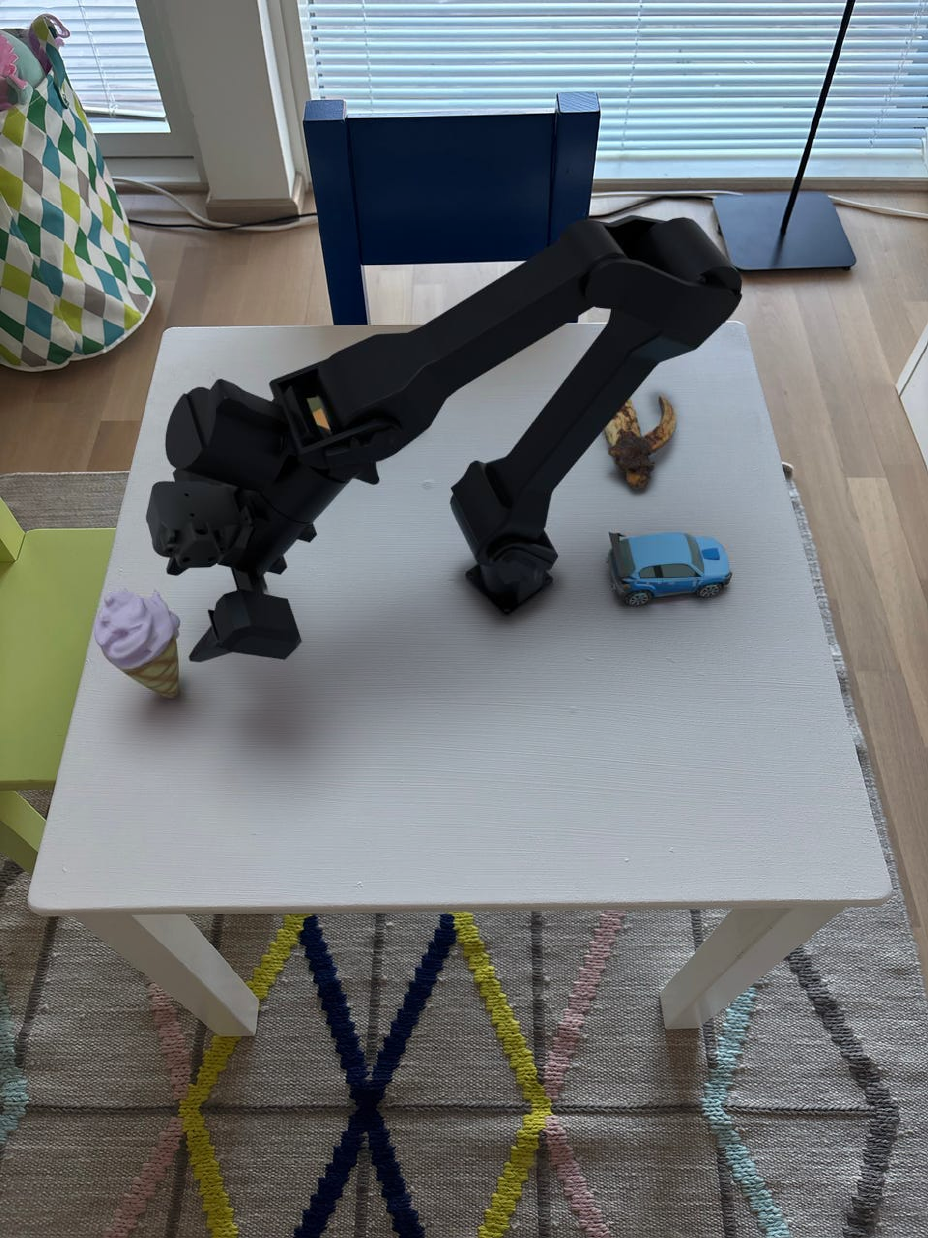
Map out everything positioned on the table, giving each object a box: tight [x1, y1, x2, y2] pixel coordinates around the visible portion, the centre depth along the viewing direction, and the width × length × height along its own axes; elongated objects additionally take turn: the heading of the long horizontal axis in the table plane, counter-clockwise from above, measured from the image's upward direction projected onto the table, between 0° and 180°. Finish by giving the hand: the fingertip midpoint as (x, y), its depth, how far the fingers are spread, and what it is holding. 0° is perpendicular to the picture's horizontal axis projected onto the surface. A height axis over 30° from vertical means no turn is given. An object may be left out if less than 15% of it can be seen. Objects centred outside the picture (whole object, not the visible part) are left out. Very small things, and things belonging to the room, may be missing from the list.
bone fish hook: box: [604, 395, 677, 489], centre depth 100 cm, size 9×5×18 cm
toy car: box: [605, 531, 733, 606], centre depth 89 cm, size 6×12×6 cm, turn 96°
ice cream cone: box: [93, 588, 181, 699], centre depth 79 cm, size 7×6×15 cm
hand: (182, 615), depth 77 cm, fingers open, 9 cm apart
